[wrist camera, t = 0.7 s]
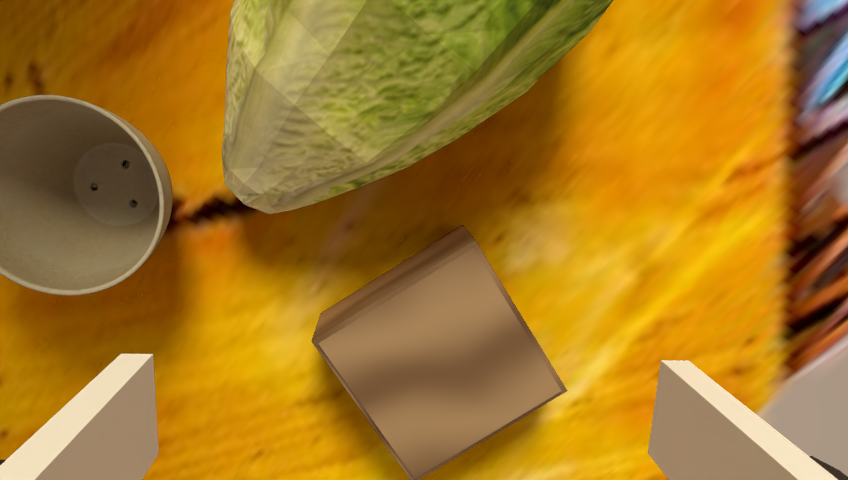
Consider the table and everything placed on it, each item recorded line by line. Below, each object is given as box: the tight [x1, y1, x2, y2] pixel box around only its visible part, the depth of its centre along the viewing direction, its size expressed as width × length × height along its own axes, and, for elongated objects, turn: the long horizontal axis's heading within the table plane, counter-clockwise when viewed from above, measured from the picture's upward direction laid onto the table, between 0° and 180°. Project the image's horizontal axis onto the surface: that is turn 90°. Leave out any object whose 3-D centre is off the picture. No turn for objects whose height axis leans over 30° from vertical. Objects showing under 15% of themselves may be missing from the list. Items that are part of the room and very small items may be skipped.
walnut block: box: [312, 225, 567, 480], centre depth 36 cm, size 11×11×5 cm
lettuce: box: [222, 0, 613, 214], centre depth 30 cm, size 15×24×16 cm
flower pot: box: [0, 95, 173, 296], centre depth 32 cm, size 10×10×7 cm
